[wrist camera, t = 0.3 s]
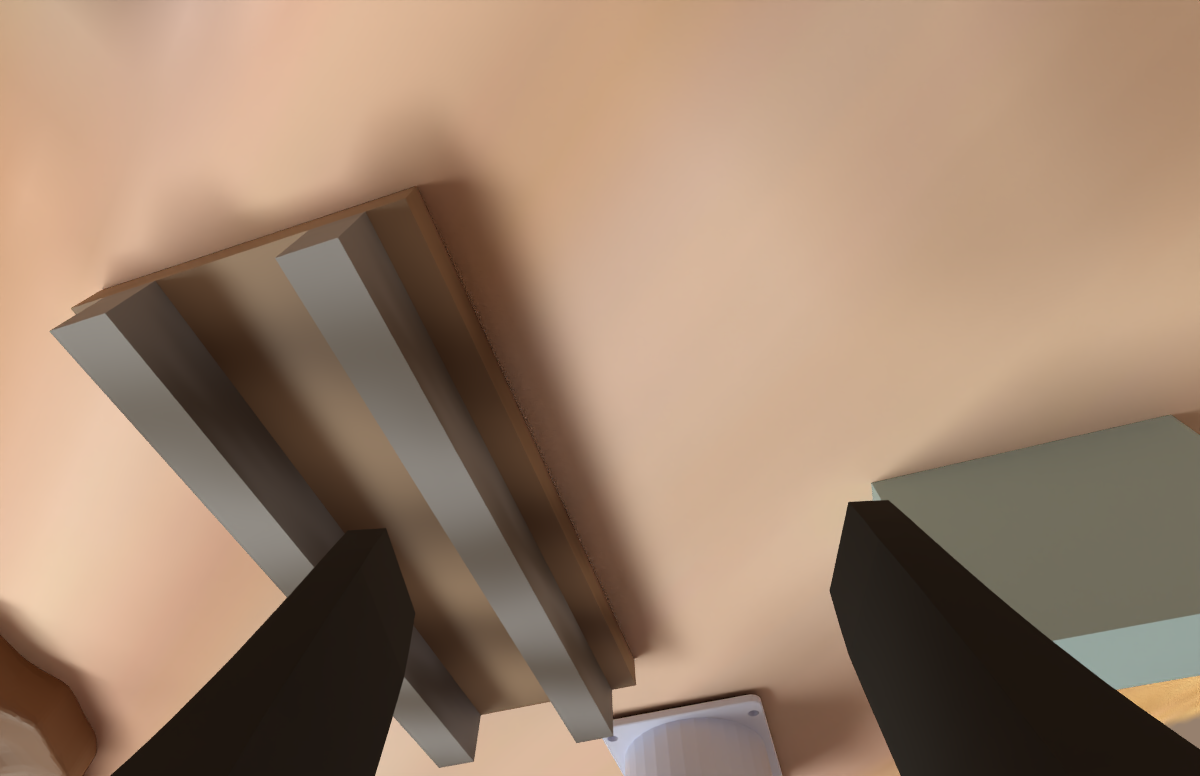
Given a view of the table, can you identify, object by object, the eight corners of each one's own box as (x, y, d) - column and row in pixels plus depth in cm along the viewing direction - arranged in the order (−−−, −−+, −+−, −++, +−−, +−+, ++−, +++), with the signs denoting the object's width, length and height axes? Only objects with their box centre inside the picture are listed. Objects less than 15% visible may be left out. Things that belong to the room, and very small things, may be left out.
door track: (634, 659, 28) (639, 731, 25) (431, 700, 29) (415, 772, 26) (416, 185, 16) (382, 222, 13) (100, 290, 18) (12, 343, 15)
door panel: (1168, 413, 21) (1400, 577, 15) (1153, 477, 22) (1357, 648, 16) (870, 481, 22) (973, 655, 16) (875, 537, 24) (970, 714, 18)
